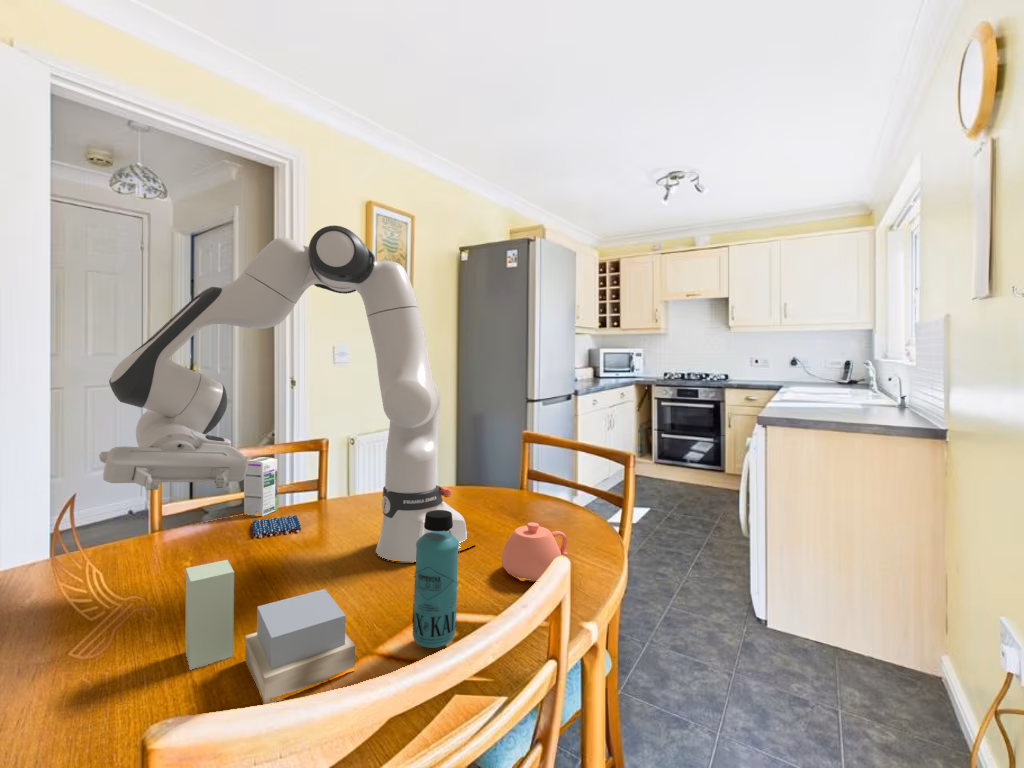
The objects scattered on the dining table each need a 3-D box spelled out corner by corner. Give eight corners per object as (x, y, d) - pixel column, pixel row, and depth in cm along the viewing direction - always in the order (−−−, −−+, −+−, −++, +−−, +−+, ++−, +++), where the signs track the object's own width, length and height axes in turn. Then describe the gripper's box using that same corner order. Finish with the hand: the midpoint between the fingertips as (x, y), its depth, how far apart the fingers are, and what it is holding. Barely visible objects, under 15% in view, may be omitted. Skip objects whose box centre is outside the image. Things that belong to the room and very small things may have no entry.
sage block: (226, 639, 69) (227, 559, 69) (233, 656, 65) (234, 571, 65) (185, 652, 66) (185, 568, 66) (189, 670, 62) (190, 581, 62)
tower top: (324, 615, 70) (324, 588, 70) (345, 644, 63) (345, 615, 63) (257, 634, 65) (257, 606, 65) (271, 669, 58) (271, 637, 58)
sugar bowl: (495, 563, 100) (497, 515, 99) (558, 559, 103) (560, 512, 102) (508, 590, 88) (510, 536, 87) (578, 584, 91) (581, 532, 91)
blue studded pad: (249, 527, 116) (249, 519, 116) (296, 521, 122) (296, 513, 122) (251, 542, 107) (251, 533, 107) (301, 534, 113) (301, 526, 113)
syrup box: (262, 517, 122) (263, 462, 122) (242, 515, 124) (243, 460, 123) (277, 510, 128) (278, 457, 127) (258, 508, 129) (259, 456, 129)
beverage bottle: (414, 633, 73) (417, 505, 72) (457, 632, 73) (461, 505, 72) (408, 659, 66) (412, 519, 65) (455, 658, 67) (460, 519, 66)
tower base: (326, 636, 72) (326, 610, 72) (354, 674, 63) (355, 645, 63) (245, 664, 65) (245, 635, 65) (264, 710, 56) (264, 678, 56)
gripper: (102, 433, 78) (109, 466, 68) (238, 439, 92) (260, 467, 83) (94, 468, 78) (100, 506, 69) (231, 469, 93) (251, 500, 84)
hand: (189, 485), depth 76 cm, fingers open, 8 cm apart
